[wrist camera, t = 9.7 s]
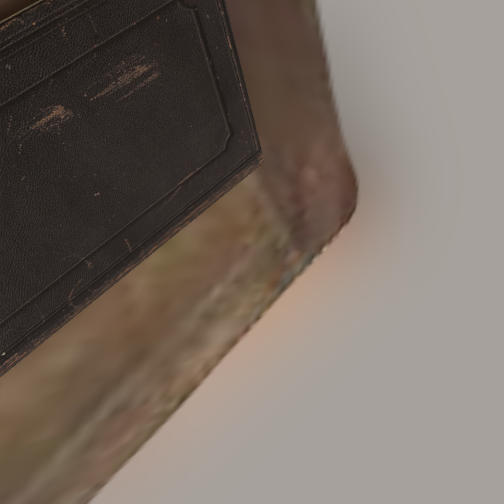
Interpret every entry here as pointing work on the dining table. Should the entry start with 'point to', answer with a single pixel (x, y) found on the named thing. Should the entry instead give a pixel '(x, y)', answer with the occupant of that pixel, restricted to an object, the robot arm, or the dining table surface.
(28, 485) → the dining table surface
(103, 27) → the hardcover book
